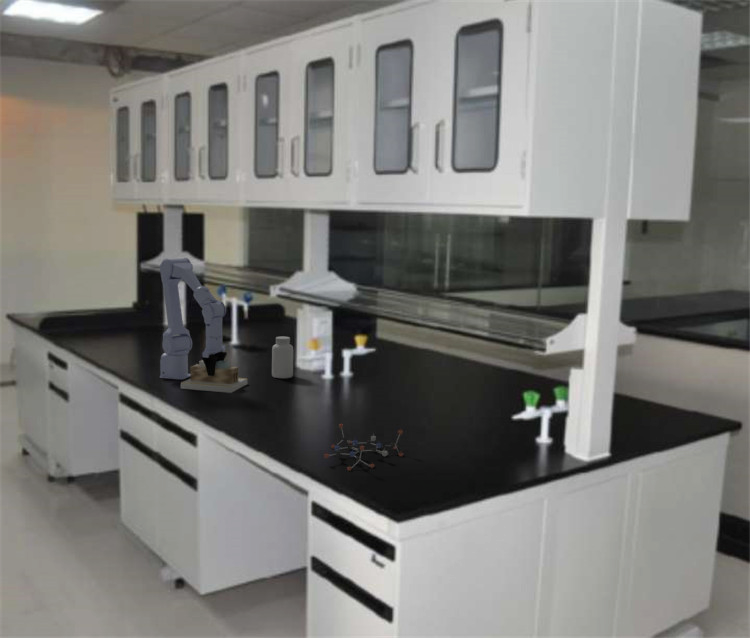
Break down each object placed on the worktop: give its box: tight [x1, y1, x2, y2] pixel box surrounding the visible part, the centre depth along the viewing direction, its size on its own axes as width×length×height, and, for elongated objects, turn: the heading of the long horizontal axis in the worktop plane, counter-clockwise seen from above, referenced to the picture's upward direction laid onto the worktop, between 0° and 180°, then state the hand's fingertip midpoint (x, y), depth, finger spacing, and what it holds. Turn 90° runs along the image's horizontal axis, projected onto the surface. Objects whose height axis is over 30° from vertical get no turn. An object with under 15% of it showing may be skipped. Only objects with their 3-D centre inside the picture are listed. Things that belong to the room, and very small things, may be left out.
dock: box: [180, 377, 248, 394], centre depth 286 cm, size 19×14×2 cm
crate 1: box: [198, 359, 206, 367], centre depth 286 cm, size 4×4×2 cm
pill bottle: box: [271, 335, 294, 379], centre depth 303 cm, size 8×8×15 cm
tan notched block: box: [189, 363, 239, 384], centre depth 285 cm, size 16×5×5 cm, turn 76°
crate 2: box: [215, 360, 231, 369], centre depth 284 cm, size 4×4×2 cm
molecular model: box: [323, 423, 404, 472], centre depth 212 cm, size 24×7×20 cm
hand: (214, 374), depth 285 cm, fingers closed on tan notched block, 5 cm apart
